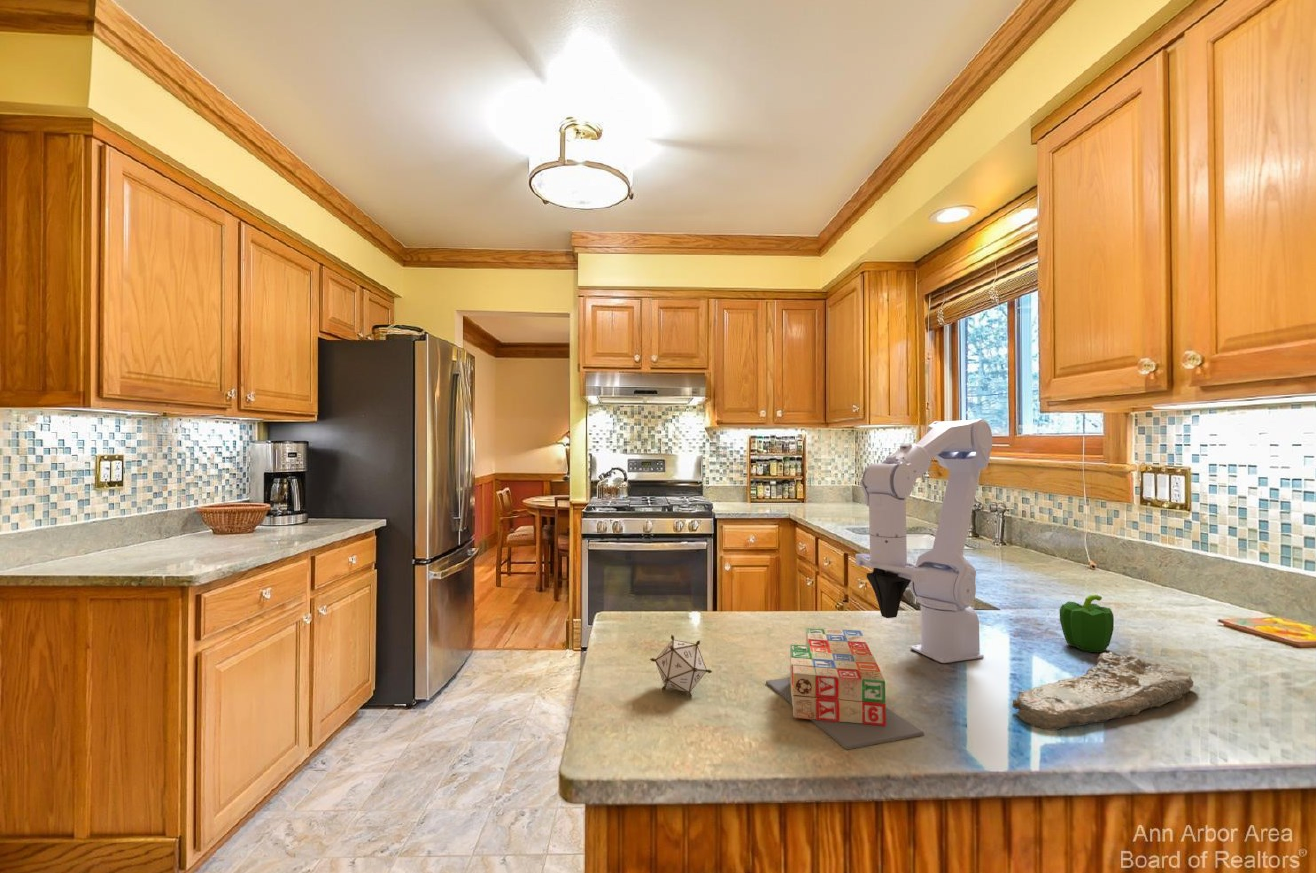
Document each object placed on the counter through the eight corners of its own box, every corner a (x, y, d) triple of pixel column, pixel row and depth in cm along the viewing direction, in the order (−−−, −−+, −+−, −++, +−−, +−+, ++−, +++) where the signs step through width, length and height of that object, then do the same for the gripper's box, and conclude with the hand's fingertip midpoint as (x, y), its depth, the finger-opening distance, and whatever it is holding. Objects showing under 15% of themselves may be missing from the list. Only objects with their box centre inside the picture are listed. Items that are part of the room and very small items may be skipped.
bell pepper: (1067, 652, 103) (1066, 598, 103) (1054, 638, 110) (1053, 588, 111) (1123, 659, 100) (1122, 602, 100) (1106, 644, 107) (1105, 591, 108)
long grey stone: (991, 718, 81) (1063, 756, 72) (991, 683, 81) (1063, 716, 72) (1137, 668, 94) (1213, 696, 85) (1137, 638, 94) (1214, 662, 85)
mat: (830, 673, 94) (830, 671, 94) (924, 734, 74) (924, 731, 74) (765, 683, 90) (765, 680, 90) (846, 749, 70) (846, 746, 70)
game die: (679, 721, 85) (658, 682, 80) (655, 682, 93) (634, 644, 88) (727, 686, 88) (709, 646, 83) (700, 650, 95) (682, 612, 90)
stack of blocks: (862, 666, 96) (788, 661, 98) (861, 629, 96) (788, 625, 99) (886, 727, 75) (791, 718, 78) (885, 680, 75) (791, 672, 78)
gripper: (840, 530, 99) (841, 607, 99) (899, 543, 85) (901, 632, 85) (873, 528, 101) (874, 603, 101) (936, 540, 88) (937, 627, 87)
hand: (889, 616), depth 93 cm, fingers closed
